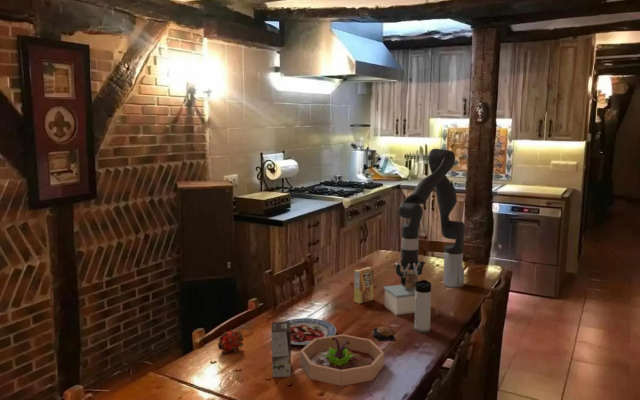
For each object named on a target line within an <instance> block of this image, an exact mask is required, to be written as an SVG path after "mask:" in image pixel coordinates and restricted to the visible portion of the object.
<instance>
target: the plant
mask: <svg viewBox="0 0 640 400" xmlns="http://www.w3.org/2000/svg"><path fill="white" fill-rule="evenodd" d="M334 340H336V343H337V348H336V349H333V348H329V350H328V351H322V352H319V354H316V355H313V356H312V359H310V361H311V362H312V364H317V365H321V366H326V367H330V368H335V369H339V370H344V369H350V368H356V367H361V366H367V365H371V363H370V360H369V358H367V357H363V356H362V355H361V354H359V353H357V352H356V353H355V352H352V350H350V349H349V348H348V347H344V346H345V344H346V343H347V345H348V346H350V345H351V343H350V342H349V341H346V342H345V343H344V344H343V346H342V348H340V344H339V342H338V340H337V339H336V338H335V337H332V338H331V339H330V341H332V342H333V341H334Z"/></svg>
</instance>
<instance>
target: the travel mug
mask: <svg viewBox="0 0 640 400" xmlns="http://www.w3.org/2000/svg"><path fill="white" fill-rule="evenodd" d="M431 304H432V282H430V281H428V280H426V279H422V280H417V282H416V289H415V313H414V326H413V327H414V330H415V331H416V332H418V333H429V332H430V331H431V312H432V311H431V308H432V306H431Z"/></svg>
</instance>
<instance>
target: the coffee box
mask: <svg viewBox="0 0 640 400" xmlns="http://www.w3.org/2000/svg"><path fill="white" fill-rule="evenodd" d="M271 331H272V332H271V360H272V361H271V362H272V364H271V365H272V367H271V368H272V369H271V370H272V378H283V377H284V378H285V377H292V376H291V375H292V354H291V353H292V346H291V345H292V344H291V333H290V321H287V320H284V321H272V323H271Z"/></svg>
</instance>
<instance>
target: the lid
mask: <svg viewBox="0 0 640 400" xmlns="http://www.w3.org/2000/svg"><path fill="white" fill-rule="evenodd" d="M382 289H383V290H384V291H385V290H386V291H388V292H389V293H391V294H392V295H393V296H395V297H404V296H411V295H415V289H416V288H408V289H406V288H405V287H403V286H402V285H401V284H395V285H388V286H387V285H386V286H383V288H382Z"/></svg>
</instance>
